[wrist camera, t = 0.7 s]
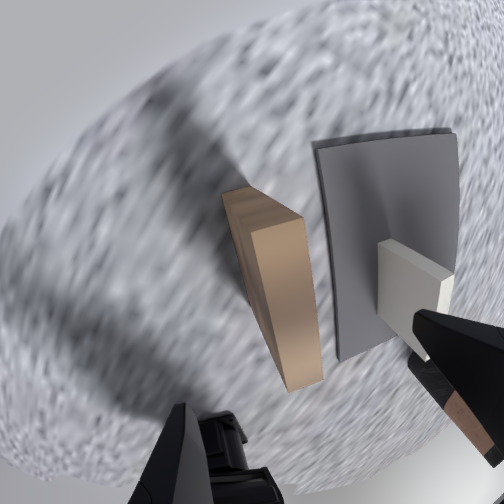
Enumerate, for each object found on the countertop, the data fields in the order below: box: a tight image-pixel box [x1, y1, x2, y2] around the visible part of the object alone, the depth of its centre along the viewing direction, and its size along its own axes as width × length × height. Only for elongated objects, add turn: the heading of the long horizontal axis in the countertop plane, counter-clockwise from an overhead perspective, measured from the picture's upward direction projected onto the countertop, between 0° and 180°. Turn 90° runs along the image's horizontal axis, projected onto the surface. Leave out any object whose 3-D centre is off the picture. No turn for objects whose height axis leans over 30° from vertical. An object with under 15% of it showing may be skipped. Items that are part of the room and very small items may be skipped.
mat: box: [315, 133, 460, 362], centre depth 23 cm, size 20×16×1 cm
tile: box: [377, 239, 455, 362], centre depth 20 cm, size 8×2×8 cm, turn 12°
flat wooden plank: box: [221, 186, 323, 393], centre depth 16 cm, size 9×2×9 cm, turn 12°
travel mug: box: [408, 351, 504, 468], centre depth 21 cm, size 8×8×20 cm
